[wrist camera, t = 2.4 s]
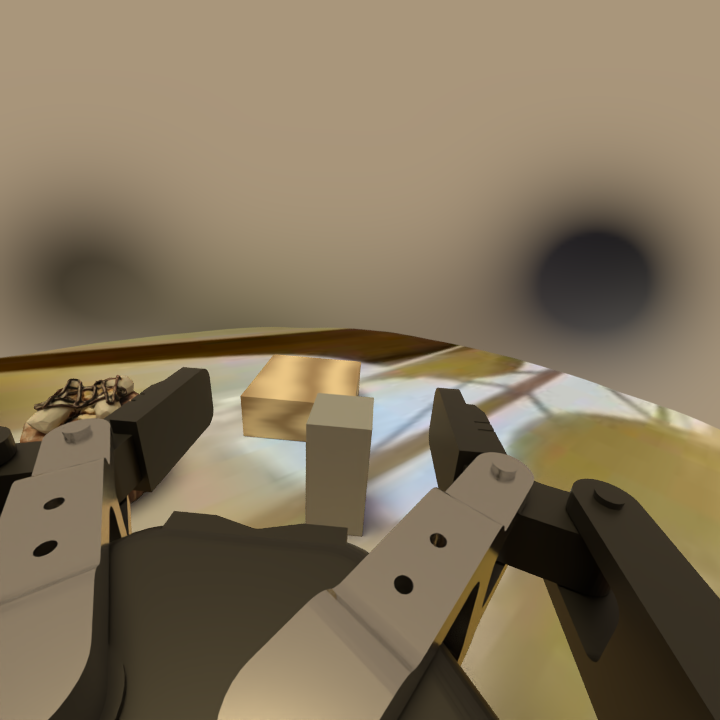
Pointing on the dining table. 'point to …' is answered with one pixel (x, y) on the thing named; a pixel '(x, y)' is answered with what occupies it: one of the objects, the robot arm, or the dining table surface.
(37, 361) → the dining table surface
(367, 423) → the grey block
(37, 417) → the cupcake
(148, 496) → the dining table surface
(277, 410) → the birch plinth
